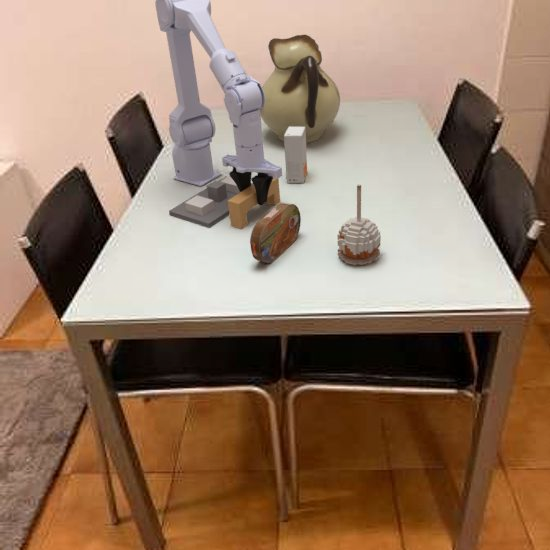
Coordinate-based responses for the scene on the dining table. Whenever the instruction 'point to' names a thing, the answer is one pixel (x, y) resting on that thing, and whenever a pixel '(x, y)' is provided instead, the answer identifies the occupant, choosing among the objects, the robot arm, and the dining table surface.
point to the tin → (275, 232)
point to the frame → (250, 203)
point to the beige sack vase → (298, 89)
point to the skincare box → (295, 154)
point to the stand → (208, 203)
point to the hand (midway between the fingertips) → (255, 201)
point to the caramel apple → (359, 238)
